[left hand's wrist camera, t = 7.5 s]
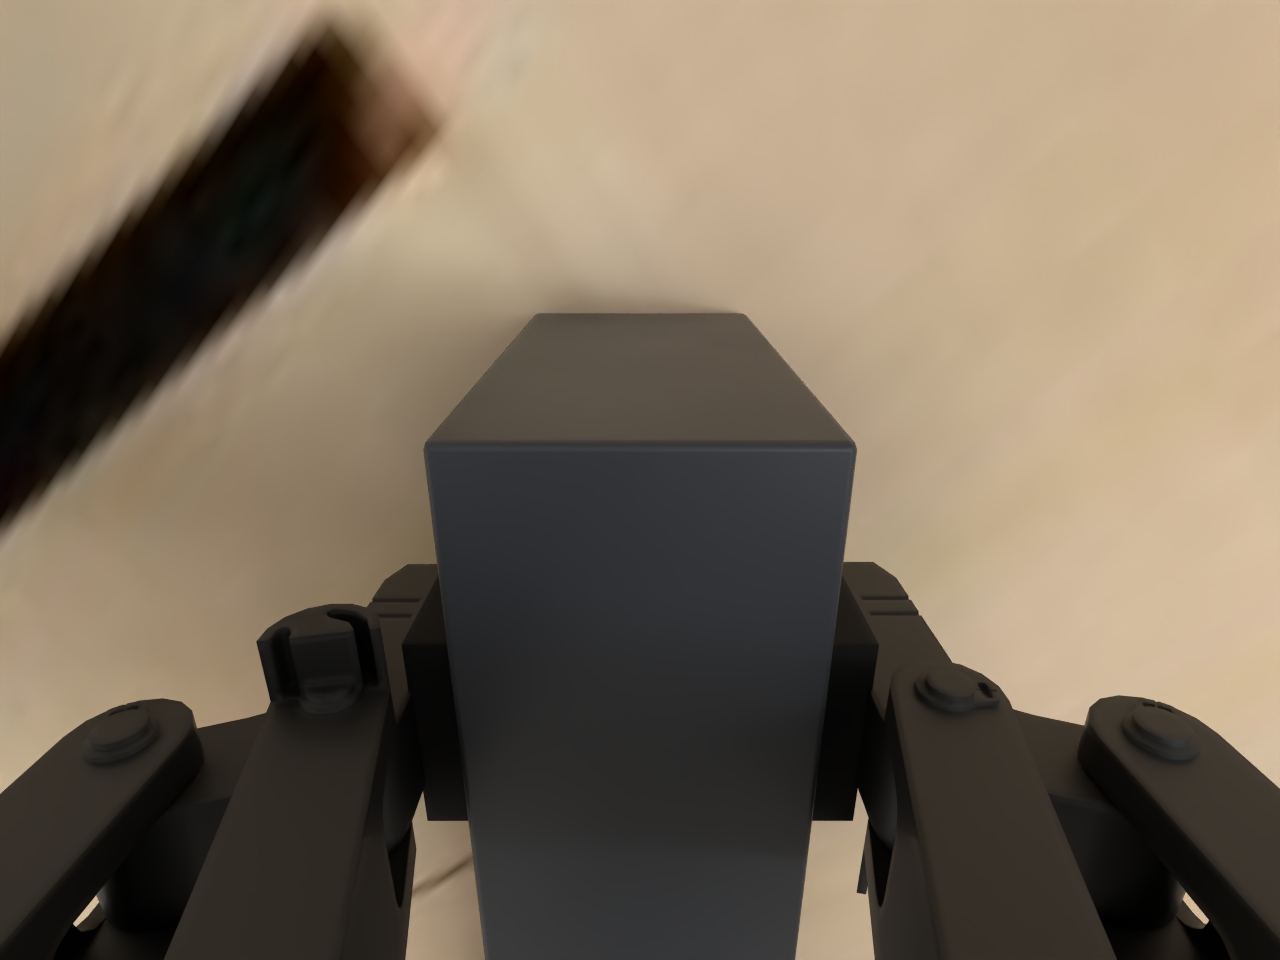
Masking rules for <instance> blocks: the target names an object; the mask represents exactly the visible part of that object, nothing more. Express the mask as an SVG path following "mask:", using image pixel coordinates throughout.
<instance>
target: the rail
mask: <svg viewBox="0 0 1280 960" xmlns="http://www.w3.org/2000/svg"><path fill="white" fill-rule="evenodd" d="M856 453H857V448H856V445H855V442H854V441H853V440H852V439H851V438H850V436H849V435H848V434H847V433H846V432H845V431H844V429H843V428H842V427H841V426H840V425H839V424H838V422H837V421H836V420H835V419H834V418H833V417H832V415H831V414H830V413H829V412H828V411H827V410H826V408H825V407H824V406H823V405H822V404H821V403H820V401H819V400H818V399H817V398H816V397H815V396H814V394H813V393H812V392H811V391H810V390H809V389H808V387H807V386H806V385H805V384H804V383H803V382H802V380H801V379H800V378H799V377H798V376H797V375H796V373H795V372H794V371H793V370H792V369H791V368H790V366H789V365H788V364H787V363H786V362H785V361H784V359H783V358H782V357H781V356H780V355H779V354H778V352H777V351H776V350H775V349H774V348H773V347H772V345H771V344H770V343H769V342H768V341H767V340H766V338H765V337H764V336H763V335H762V334H761V333H760V331H759V330H758V329H757V328H756V327H755V326H754V324H753V323H752V322H751V321H750V320H749V319H748V317H747V316H746V315H744V314H537V315H535V316H534V317H533V318H532V320H531V321H530V322H529V323H528V324H527V325H526V327H525V328H524V329H523V330H522V331H521V332H520V334H519V335H518V336H517V337H516V338H515V339H514V341H513V342H512V343H511V344H510V345H509V346H508V348H507V349H506V350H505V351H504V352H503V353H502V354H501V356H500V357H499V358H498V359H497V360H496V361H495V363H494V364H493V365H492V366H491V367H490V368H489V370H488V371H487V372H486V373H485V374H484V375H483V377H482V378H481V379H480V380H479V381H478V382H477V383H476V385H475V386H474V387H473V388H472V389H471V390H470V392H469V393H468V394H467V395H466V396H465V397H464V399H463V400H462V401H461V402H460V403H459V404H458V406H457V407H456V408H455V409H454V410H453V411H452V413H451V414H450V415H449V416H448V417H447V418H446V419H445V421H444V422H443V423H442V424H441V425H440V426H439V428H438V429H437V430H436V431H435V432H434V433H433V435H432V436H431V437H430V438H429V439H428V440H427V442H426V443H425V446H424V458H425V466H426V474H427V482H428V491H429V499H430V507H431V515H432V524H433V532H434V540H435V548H436V557H437V565H438V573H439V581H440V590H441V598H442V606H443V614H444V623H445V631H446V639H447V647H448V656H449V664H450V672H451V680H452V689H453V697H454V705H455V713H456V722H457V730H458V738H459V746H460V755H461V763H462V771H463V779H464V788H465V796H466V804H467V812H468V821H469V829H470V837H471V845H472V854H473V862H474V870H475V878H476V886H477V895H478V903H479V911H480V919H481V928H482V936H483V944H484V952H485V960H795V955H796V947H797V939H798V931H799V922H800V914H801V906H802V898H803V890H804V881H805V873H806V865H807V857H808V848H809V840H810V832H811V824H812V815H813V807H814V799H815V791H816V783H817V774H818V766H819V758H820V750H821V741H822V733H823V725H824V717H825V708H826V700H827V692H828V684H829V675H830V667H831V659H832V651H833V643H834V634H835V626H836V618H837V610H838V601H839V593H840V585H841V577H842V568H843V560H844V552H845V544H846V536H847V527H848V519H849V511H850V503H851V494H852V486H853V478H854V470H855V461H856Z"/></svg>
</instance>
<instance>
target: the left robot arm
mask: <svg viewBox="0 0 1280 960" xmlns="http://www.w3.org/2000/svg"><path fill="white" fill-rule="evenodd" d="M918 613H919V611H918V610H917V608H916V607H915V605H914V604H913V602H912V601H911V600H909V599H908V595H907V593H906V592H905V590H904V589H903V587H902V586H901V584H900V583H899V581H898V580H897V578H896V577H894V576H893V575H891V574H890V573H888V572H887V571H885V570H884V569H882V568H881V567H879V566H878V565H877V564H875V563H874V562H843V568H842V577H841V585H840V593H839V601H838V610H837V618H836V626H835V634H834V643H833V651H832V659H831V667H830V675H829V684H828V692H827V700H826V708H825V717H824V725H823V733H822V741H821V750H820V758H819V766H818V774H817V783H816V791H815V799H814V807H813V815H812V821H853V816H854V809H855V802H856V796H857V789H859V792H860V795H861V798H862V800H863V803H864V806H865V809H866V811H867V814H868V817H869V819H868V825H867V831H866V837H865V844H864V850H863V856H862V862H861V869H860V875H859V881H858V888H857V893H862V894H866V891H867V886H868V895H869V905H870V915H871V925H872V935H873V945H874V955H875V960H1280V789H1279V788H1278V787H1277V786H1276V785H1275V784H1274V783H1273V782H1272V781H1270V780H1269V779H1268V778H1267V777H1266V776H1265V775H1264V774H1263V773H1261V772H1260V771H1259V770H1258V769H1257V768H1256V767H1255V766H1254V765H1253V764H1251V763H1250V762H1249V761H1248V760H1247V759H1246V758H1245V757H1244V756H1242V755H1241V754H1240V753H1239V752H1238V751H1237V750H1236V749H1235V748H1233V747H1232V746H1231V745H1230V744H1229V743H1228V742H1227V741H1226V740H1225V739H1223V738H1222V737H1221V736H1220V735H1219V734H1218V733H1216V732H1215V731H1213V730H1212V729H1211V728H1209V727H1208V726H1206V725H1205V724H1204V723H1202V722H1201V721H1199V720H1198V719H1197V718H1195V717H1193V716H1190V715H1188V714H1186V713H1184V712H1182V711H1180V710H1178V709H1176V708H1174V707H1172V706H1170V705H1167V704H1164V703H1161V702H1155V701H1154V700H1150V699H1145V698H1139V697H1129V696H1119V695H1118V696H1113V697H1107V698H1102V699H1099V700H1098V701H1097V702H1096V703H1094V704H1093V705H1092V706H1091V707H1090V708H1089V711H1088V715H1087V718H1086V722H1085V725H1084V726H1083V725H1078V724H1074V723H1069V722H1064V721H1059V720H1054V719H1050V718H1045V717H1040V716H1035V715H1031V714H1028V713H1024V712H1021V711H1017V710H1014V709H1012V706H1011V704H1010V701H1009V700H1008V698H1007V697H1006V696H1005V694H1004V693H1003V691H1002V690H1001V689H1000V687H999V686H998V685H996V684H995V683H994V682H992V681H991V680H989V679H988V678H987V677H985V676H984V675H983V674H981V673H979V672H976V671H974V670H972V669H969V668H967V667H965V666H963V665H960V664H955V663H952V661H951V660H950V658H949V657H948V655H947V654H946V652H945V651H944V649H943V648H942V646H941V645H940V643H939V642H938V640H937V639H936V637H935V636H934V634H933V633H932V631H931V630H930V628H929V627H928V625H927V624H926V622H925V621H924V619H923V618H922V616H919V614H918ZM257 646H258V650H259V654H260V658H261V663H262V667H263V671H264V675H265V679H266V683H267V688H268V692H269V696H270V700H271V703H270V705H269V707H268V710H267V712H266V713H264V714H260V715H256V716H253V717H249V718H245V719H240V720H236V721H231V722H226V723H221V724H217V725H212V726H207V727H202V728H198V729H197V726H196V723H195V720H194V716H193V713H192V710H191V709H189V708H188V707H187V706H186V705H185V704H183V703H182V702H180V701H174V700H169V699H152V700H142V701H137V702H132V703H128V704H126V705H121V706H118V707H115V708H112V709H110V710H108V711H106V712H104V713H102V714H100V715H98V716H96V717H94V718H91V719H89V720H87V721H85V722H84V723H83V724H81V725H80V726H78V727H77V728H76V729H74V730H73V731H71V732H70V733H69V734H67V735H66V736H64V737H63V738H62V739H61V740H60V741H59V742H58V743H56V744H55V745H54V746H53V747H52V748H51V749H50V750H49V751H48V752H46V753H45V754H44V755H43V756H42V757H41V758H40V759H39V760H38V761H36V762H35V763H34V764H33V765H32V766H31V767H30V768H29V769H28V770H26V771H25V772H24V773H23V774H22V775H21V776H20V777H19V778H18V779H16V780H15V781H14V782H13V783H12V784H11V785H10V786H9V787H8V788H6V789H5V790H4V791H3V792H2V793H1V794H0V960H405V957H406V947H407V937H408V927H409V917H410V907H411V897H412V887H413V877H414V867H415V857H416V844H415V838H414V831H413V825H412V819H413V816H414V814H415V811H416V808H417V805H418V803H419V800H420V797H421V794H422V792H424V799H425V806H426V812H427V819H428V821H468V812H467V804H466V796H465V788H464V779H463V771H462V763H461V755H460V746H459V738H458V730H457V722H456V713H455V705H454V697H453V689H452V680H451V672H450V664H449V656H448V647H447V639H446V631H445V623H444V614H443V606H442V598H441V590H440V581H439V573H438V565H437V564H408V565H406V566H405V567H403V568H402V569H400V570H399V571H397V572H396V573H394V574H393V575H392V576H390V577H389V578H387V579H386V580H385V581H384V582H383V584H382V585H381V587H380V588H379V590H378V591H377V593H376V594H375V596H374V597H373V601H372V602H370V603H369V605H368V606H367V608H366V607H362V606H358V605H354V604H329V605H323V606H318V607H313V608H308V609H305V610H303V611H300V612H297V613H295V614H292V615H289V616H287V617H285V618H283V619H282V620H280V621H279V622H277V623H275V624H274V625H272V626H271V627H269V628H268V629H267V630H266V631H265V632H264V633H263V634H262V636H261V637H260V638H259V639H258V640H257ZM1185 892H1187V894H1188V895H1189V896H1190V897H1191V898H1192V900H1193V901H1194V902H1195V903H1196V905H1197V906H1198V907H1199V908H1200V909H1201V911H1202V912H1203V913H1204V914H1205V916H1206V917H1207V918H1208V919H1209V922H1208V923H1207V924H1204V923H1203V922H1202V921H1201V920H1200V919H1199V918H1198V917H1197V916H1196V915H1195V914H1194V913H1193V912H1192V911H1191V910H1190V908H1189V907H1188V906H1187V905H1186V903H1185V902H1184V901H1183V897H1184V895H1185ZM96 895H97V898H98V900H99V903H98V904H97V906H96V907H95V908H94V909H93V911H92V912H91V913H90V914H89V916H88V917H87V918H86V919H84V920H83V921H82V922H81V923H80V924H79V925H78V926H77V927H75V926H74V925H73V923H74V922H75V920H76V919H77V918H78V917H79V915H80V914H81V913H82V912H83V910H84V909H85V908H86V907H87V906H88V904H89V903H90V902H91V901H92V899H93V898H94V897H95V896H96Z"/></svg>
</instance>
